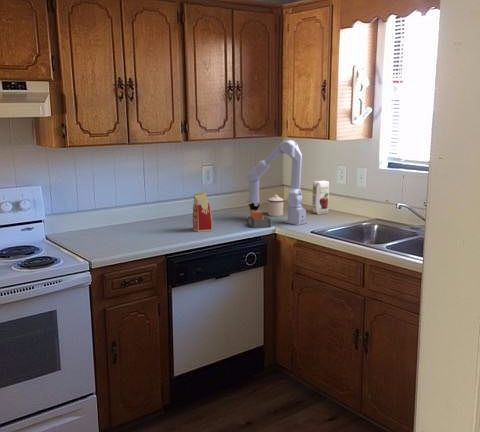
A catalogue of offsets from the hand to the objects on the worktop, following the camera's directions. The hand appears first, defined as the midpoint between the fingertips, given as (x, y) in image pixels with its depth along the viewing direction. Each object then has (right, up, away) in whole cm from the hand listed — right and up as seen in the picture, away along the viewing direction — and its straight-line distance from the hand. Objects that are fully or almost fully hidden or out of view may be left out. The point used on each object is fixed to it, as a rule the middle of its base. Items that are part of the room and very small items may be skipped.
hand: (253, 216), depth 293 cm
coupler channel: (+2, -5, -16) cm, 16 cm away
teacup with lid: (+12, +1, +14) cm, 19 cm away
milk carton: (-27, -7, -25) cm, 38 cm away
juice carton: (+39, +2, +17) cm, 43 cm away
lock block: (+1, -3, -6) cm, 6 cm away
